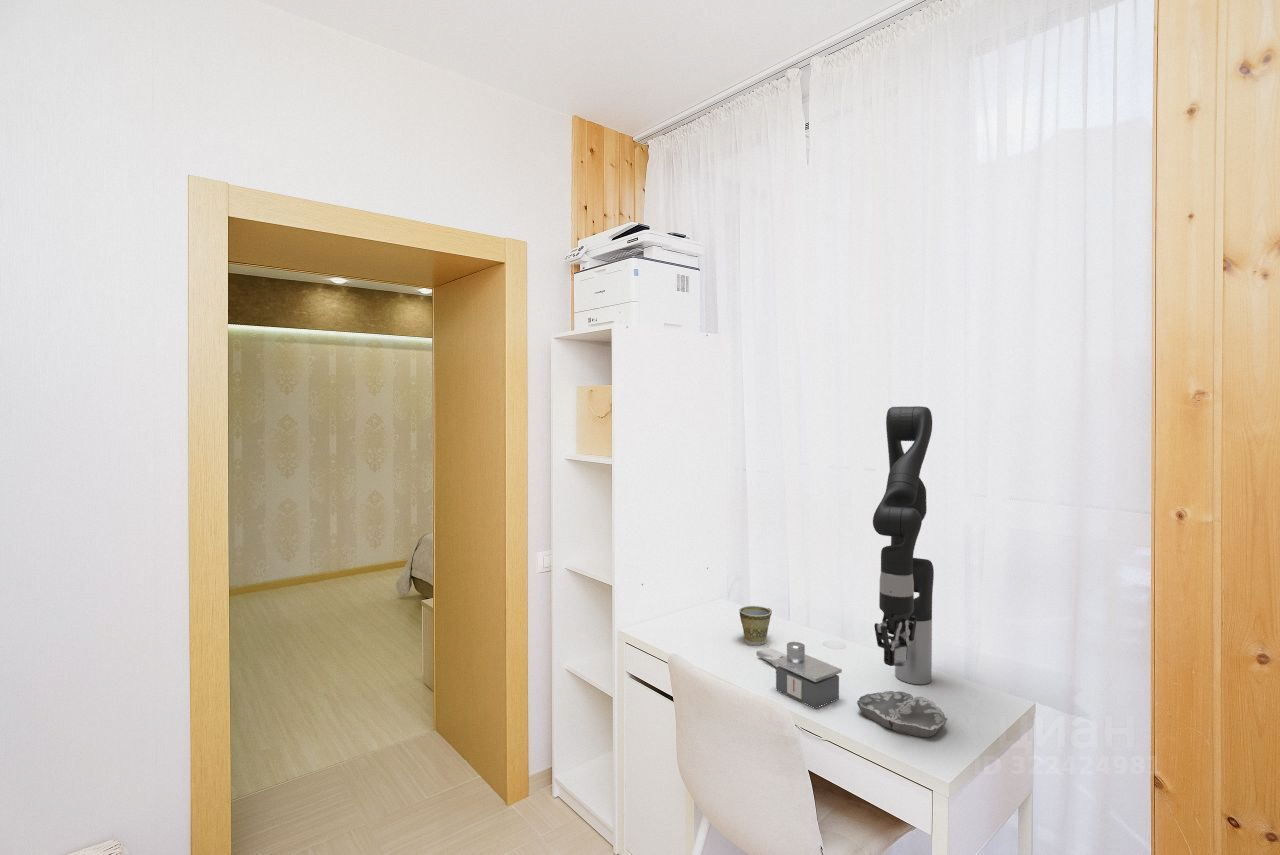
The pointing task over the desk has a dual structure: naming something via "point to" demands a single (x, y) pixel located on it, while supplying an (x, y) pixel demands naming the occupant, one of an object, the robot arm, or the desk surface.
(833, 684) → the scale
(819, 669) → the pan
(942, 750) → the desk surface
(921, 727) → the brain slice
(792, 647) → the cylinder
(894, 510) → the robot arm
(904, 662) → the cylinder
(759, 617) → the ceramic cup
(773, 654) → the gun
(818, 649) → the desk surface
